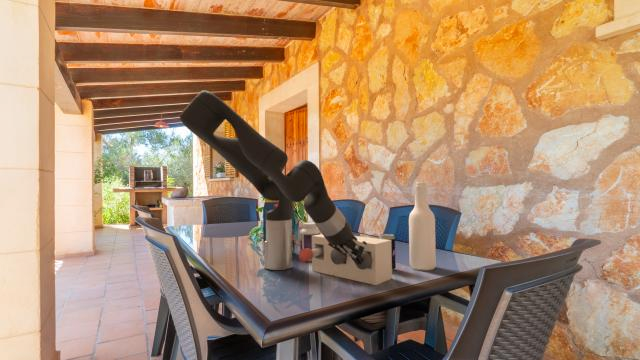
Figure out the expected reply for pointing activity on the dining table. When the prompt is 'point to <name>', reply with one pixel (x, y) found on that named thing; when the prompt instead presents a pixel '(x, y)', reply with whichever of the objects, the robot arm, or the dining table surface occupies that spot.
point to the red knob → (310, 253)
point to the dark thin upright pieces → (267, 207)
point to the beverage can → (392, 238)
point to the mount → (348, 269)
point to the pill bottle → (308, 235)
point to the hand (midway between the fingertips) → (360, 262)
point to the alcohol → (422, 232)
